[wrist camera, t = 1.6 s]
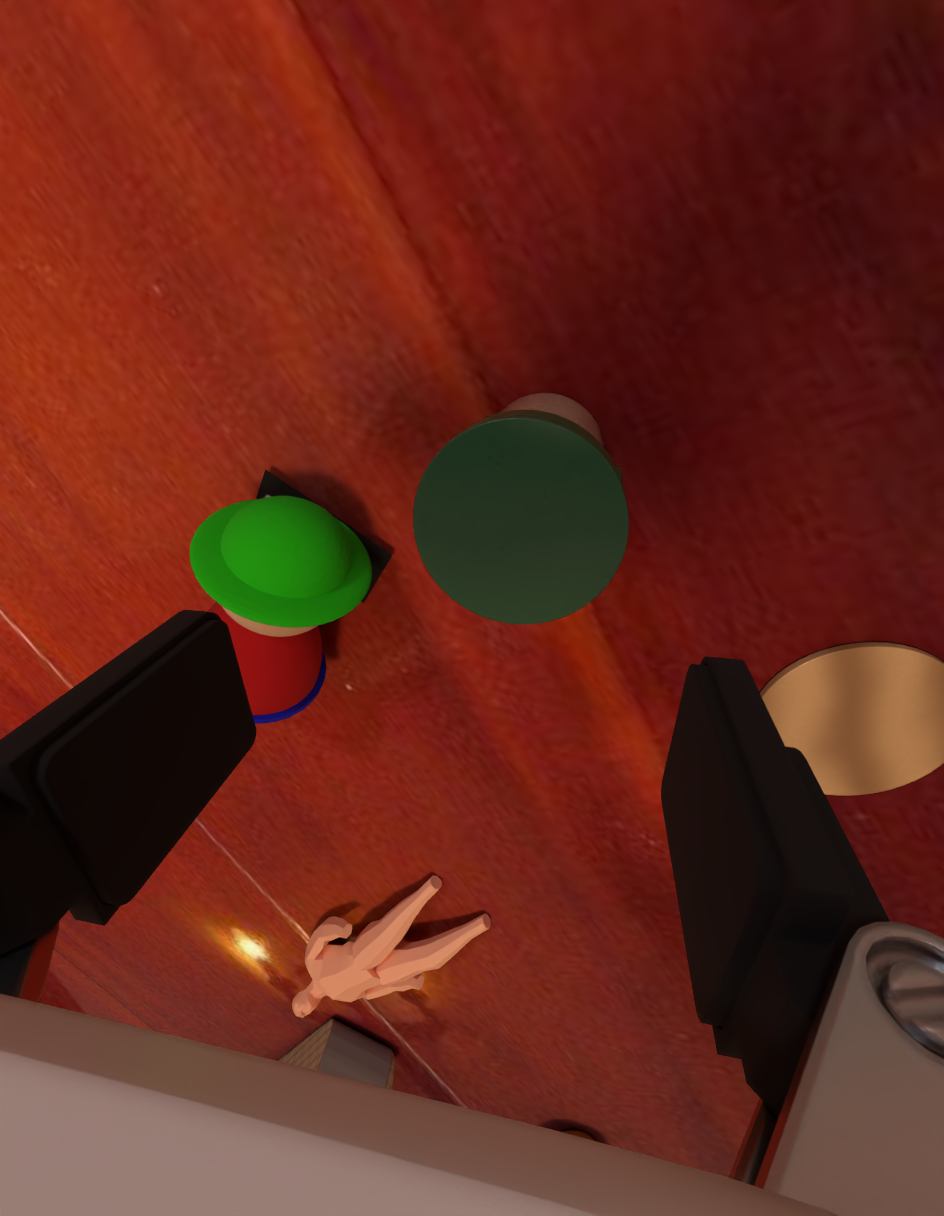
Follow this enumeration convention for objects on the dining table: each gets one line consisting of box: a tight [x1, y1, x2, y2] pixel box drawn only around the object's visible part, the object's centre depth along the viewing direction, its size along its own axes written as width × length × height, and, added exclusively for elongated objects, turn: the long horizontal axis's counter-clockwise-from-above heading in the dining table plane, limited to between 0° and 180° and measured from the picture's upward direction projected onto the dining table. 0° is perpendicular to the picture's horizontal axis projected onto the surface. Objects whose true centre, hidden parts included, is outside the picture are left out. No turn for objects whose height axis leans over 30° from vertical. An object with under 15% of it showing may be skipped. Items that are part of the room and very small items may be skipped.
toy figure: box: [190, 469, 392, 724], centre depth 30 cm, size 9×10×15 cm
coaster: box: [760, 642, 944, 795], centre depth 30 cm, size 11×11×1 cm
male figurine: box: [292, 875, 491, 1018], centre depth 50 cm, size 11×5×25 cm
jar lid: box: [413, 409, 629, 624], centre depth 18 cm, size 7×7×2 cm
